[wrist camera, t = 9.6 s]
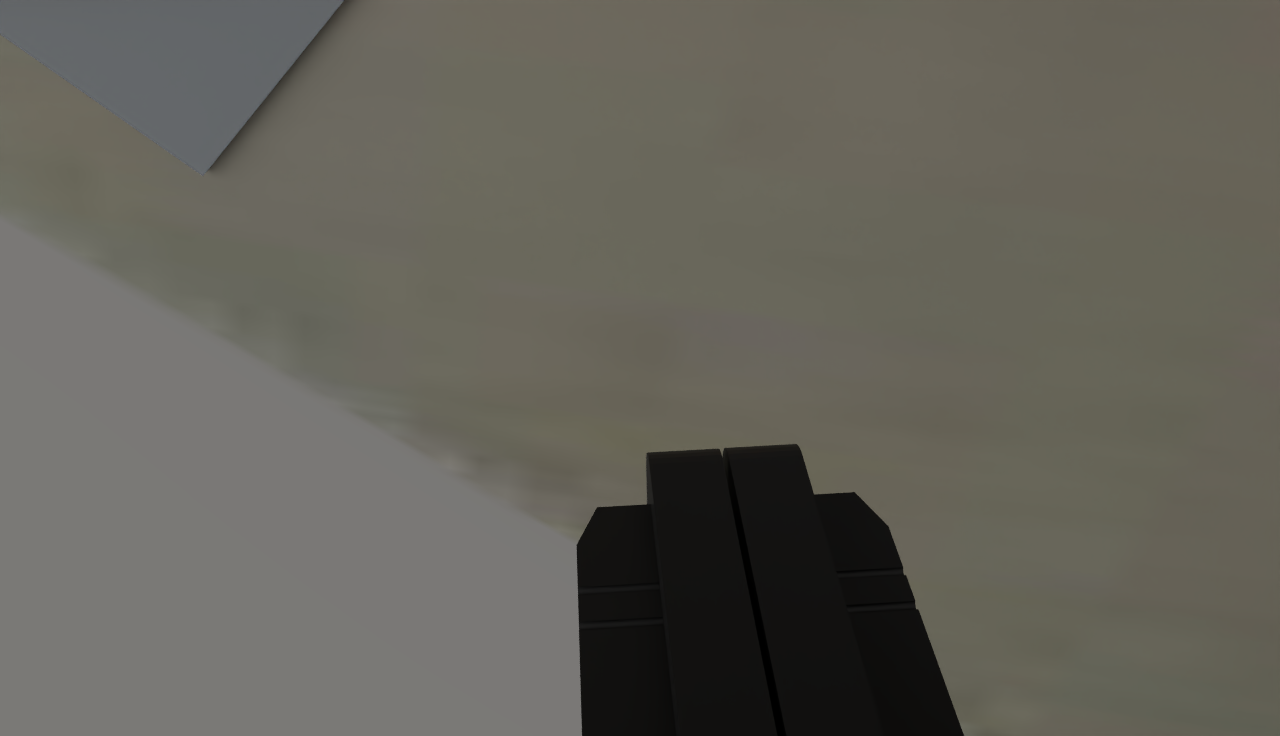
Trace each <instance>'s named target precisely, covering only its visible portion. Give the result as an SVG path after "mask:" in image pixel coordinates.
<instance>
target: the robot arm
mask: <svg viewBox="0 0 1280 736" xmlns="http://www.w3.org/2000/svg"><path fill="white" fill-rule="evenodd" d="M646 476H647V505H630V506H613V507H597V509H596V510H595V512H594V514H593V516H592V518H591V520H590V521H589V523H588V525H587V527H586V529H585V531H584V533H583V534H582V536H581V538H580V540H579V542H578V544H577V573H578V608H579V641H580V642H579V643H580V677H581V713H582V736H964V734H963V732H962V729H961V726H960V723H959V721H958V718H957V715H956V712H955V710H954V707H953V704H952V701H951V698H950V696H949V693H948V690H947V687H946V685H945V682H944V679H943V676H942V674H941V671H940V668H939V665H938V662H937V660H936V657H935V654H934V651H933V649H932V646H931V643H930V640H929V638H928V635H927V632H926V629H925V626H924V624H923V621H922V618H921V615H920V613H919V610H918V609H917V610H916V607H915V599H914V596H913V593H912V590H911V588H910V585H909V582H908V579H907V577H906V575H904V574H903V566H902V563H901V560H900V557H899V554H898V552H897V549H896V546H895V543H894V541H893V538H892V535H891V532H890V530H889V527H888V526H887V525H886V524H885V523H884V521H883V520H882V519H881V518H880V517H879V516H878V515H877V514H876V513H875V512H874V511H873V510H872V509H871V508H870V507H869V506H868V505H867V504H866V503H865V502H864V501H863V500H862V499H861V498H860V497H859V496H858V495H857V494H856V493H855V492H851V493H834V494H817V495H814V493H813V490H812V486H811V483H810V480H809V476H808V473H807V469H806V466H805V462H804V459H803V456H802V453H801V450H800V448H799V446H798V445H797V444H789V445H771V446H753V447H734V448H724V451H723V456H722V455H721V452H720V450H719V449H704V450H686V451H668V452H650V453H647V456H646Z"/></svg>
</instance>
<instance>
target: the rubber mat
mask: <svg viewBox="0 0 1280 736" xmlns="http://www.w3.org/2000/svg"><path fill="white" fill-rule="evenodd" d="M343 1H344V0H0V35H2V36H3V37H5V38H6V39H8V40H9V41H10V42H12V43H13V44H15V45H16V46H18V47H19V48H20V49H22V50H23V51H25V52H26V53H28V54H29V55H30V56H32V57H33V58H35V59H36V60H38V61H39V62H40V63H42V64H43V65H45V66H46V67H48V68H49V69H50V70H52V71H53V72H55V73H56V74H58V75H59V76H60V77H62V78H63V79H65V80H66V81H68V82H69V83H70V84H72V85H73V86H75V87H76V88H78V89H79V90H80V91H82V92H83V93H85V94H86V95H88V96H89V97H90V98H92V99H93V100H95V101H96V102H98V103H99V104H101V105H102V106H103V107H105V108H106V109H108V110H109V111H111V112H112V113H113V114H115V115H116V116H118V117H119V118H121V119H122V120H123V121H125V122H126V123H128V124H129V125H131V126H132V127H133V128H135V129H136V130H138V131H139V132H141V133H142V134H143V135H145V136H146V137H148V138H149V139H151V140H152V141H153V142H155V143H156V144H158V145H159V146H161V147H162V148H163V149H165V150H166V151H168V152H169V153H171V154H172V155H173V156H175V157H176V158H178V159H179V160H181V161H182V162H183V163H185V164H186V165H188V166H189V167H191V168H192V169H193V170H195V171H196V172H198V173H199V174H201V175H202V176H203V175H204V174H205V173H206V172H207V170H208V169H209V168H210V167H211V165H212V164H213V163H214V162H215V160H216V159H217V158H218V157H219V155H220V154H221V153H222V152H223V150H224V149H225V148H226V147H227V145H228V144H229V143H230V142H231V140H232V139H233V138H234V137H235V135H236V134H237V133H238V132H239V130H240V129H241V128H242V127H243V126H244V124H245V123H246V122H247V121H248V119H249V118H250V117H251V116H252V114H253V113H254V112H255V111H256V109H257V108H258V107H259V106H260V104H261V103H262V102H263V101H264V99H265V98H266V97H267V96H268V94H269V93H270V92H271V91H272V89H273V88H274V87H275V86H276V84H277V83H278V82H279V81H280V79H281V78H282V77H283V76H284V74H285V73H286V72H287V71H288V69H289V68H290V67H291V66H292V64H293V63H294V62H295V61H296V59H297V58H298V57H299V56H300V55H301V53H302V52H303V51H304V50H305V48H306V47H307V46H308V45H309V43H310V42H311V41H312V40H313V38H314V37H315V36H316V35H317V33H318V32H319V31H320V30H321V28H322V27H323V26H324V25H325V23H326V22H327V21H328V20H329V18H330V17H331V16H332V15H333V13H334V12H335V11H336V10H337V8H338V7H339V6H340V5H341V3H342V2H343Z"/></svg>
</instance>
